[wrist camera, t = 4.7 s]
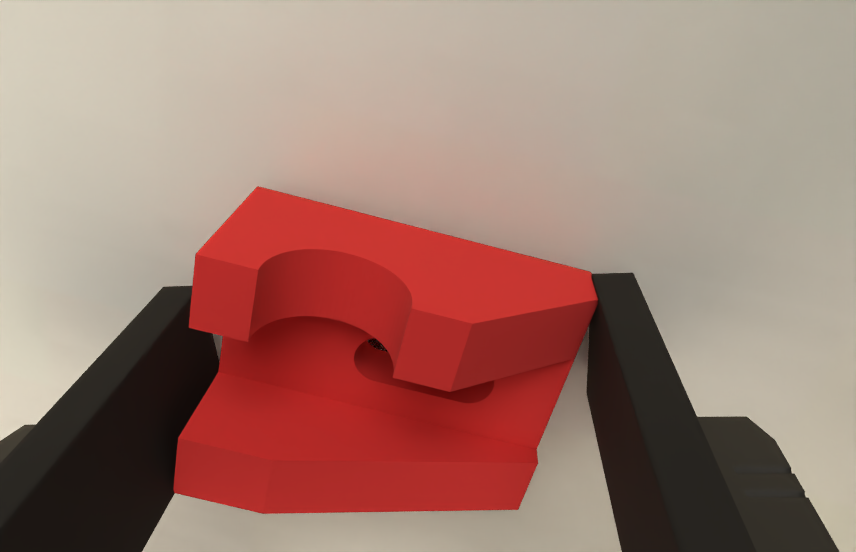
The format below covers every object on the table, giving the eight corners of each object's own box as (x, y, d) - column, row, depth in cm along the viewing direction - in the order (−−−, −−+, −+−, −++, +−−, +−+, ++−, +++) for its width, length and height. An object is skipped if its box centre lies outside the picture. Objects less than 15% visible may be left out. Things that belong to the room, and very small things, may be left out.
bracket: (230, 390, 14) (172, 492, 12) (257, 186, 12) (195, 254, 10) (515, 459, 15) (522, 574, 12) (590, 272, 13) (620, 360, 10)
